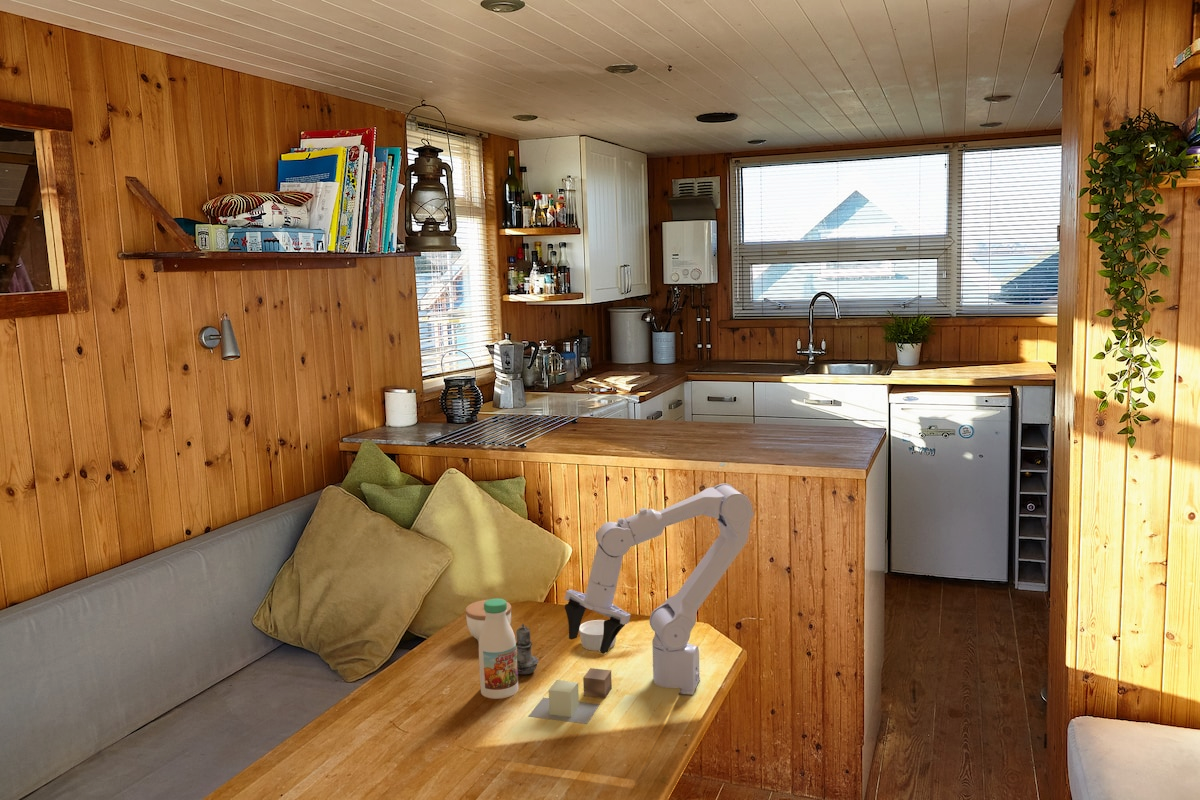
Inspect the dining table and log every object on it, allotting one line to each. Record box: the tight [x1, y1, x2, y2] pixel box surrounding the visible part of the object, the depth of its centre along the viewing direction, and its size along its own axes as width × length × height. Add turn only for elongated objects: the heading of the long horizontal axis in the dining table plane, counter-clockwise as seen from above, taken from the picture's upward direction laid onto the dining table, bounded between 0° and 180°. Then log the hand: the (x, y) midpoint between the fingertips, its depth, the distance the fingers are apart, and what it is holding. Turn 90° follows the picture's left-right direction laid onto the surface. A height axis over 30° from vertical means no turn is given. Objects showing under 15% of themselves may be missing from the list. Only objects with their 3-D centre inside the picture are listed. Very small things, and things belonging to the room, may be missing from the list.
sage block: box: [548, 679, 580, 717], centre depth 183 cm, size 4×4×5 cm
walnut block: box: [582, 667, 613, 699], centre depth 191 cm, size 4×4×5 cm
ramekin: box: [578, 619, 617, 652], centre depth 217 cm, size 9×9×4 cm
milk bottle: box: [478, 598, 519, 700], centre depth 192 cm, size 8×8×20 cm
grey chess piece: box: [516, 623, 539, 675], centre depth 200 cm, size 6×6×12 cm
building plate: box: [528, 697, 601, 725], centre depth 184 cm, size 12×8×1 cm, turn 72°
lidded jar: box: [465, 598, 512, 643], centre depth 221 cm, size 11×11×9 cm
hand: (588, 645), depth 191 cm, fingers open, 7 cm apart
